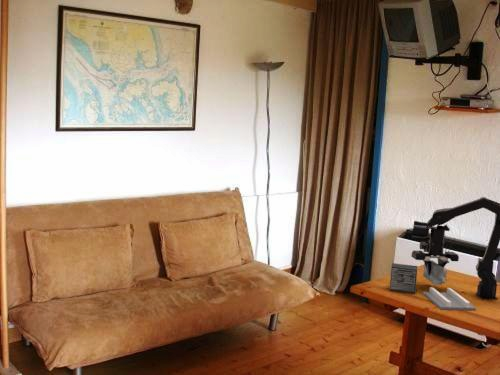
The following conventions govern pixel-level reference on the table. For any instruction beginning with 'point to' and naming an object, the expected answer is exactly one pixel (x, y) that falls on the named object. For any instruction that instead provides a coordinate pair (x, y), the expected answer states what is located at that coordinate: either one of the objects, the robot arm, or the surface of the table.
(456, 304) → the sliding track
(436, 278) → the long grey rectangular beam
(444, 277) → the reed diffuser
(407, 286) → the small box
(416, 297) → the table surface
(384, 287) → the table surface
